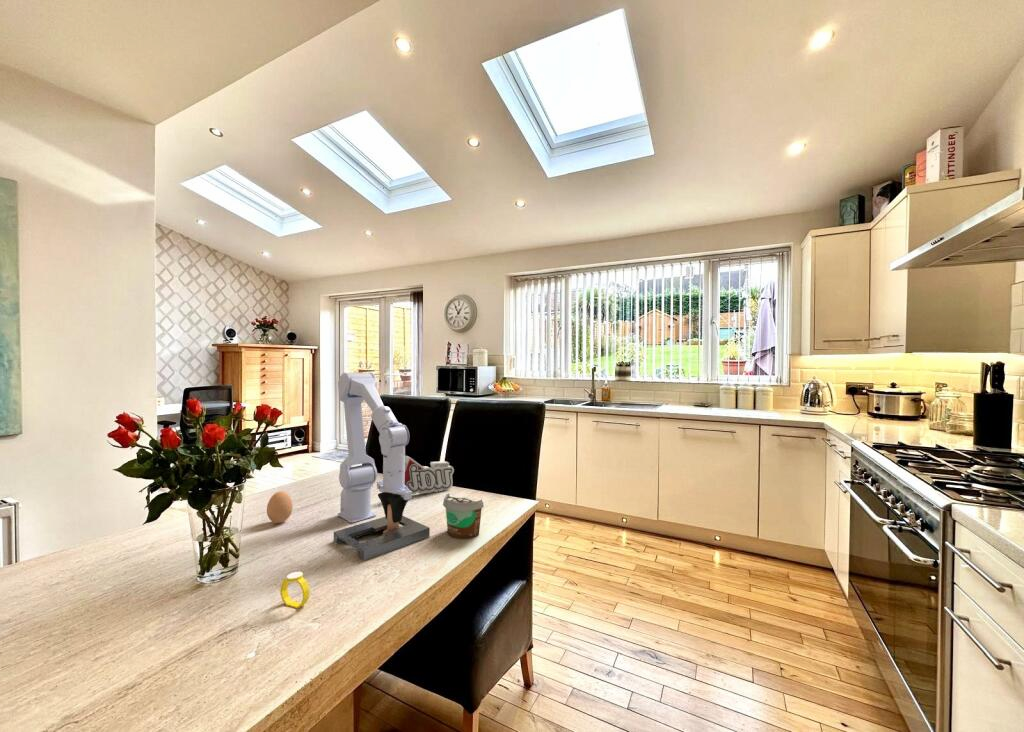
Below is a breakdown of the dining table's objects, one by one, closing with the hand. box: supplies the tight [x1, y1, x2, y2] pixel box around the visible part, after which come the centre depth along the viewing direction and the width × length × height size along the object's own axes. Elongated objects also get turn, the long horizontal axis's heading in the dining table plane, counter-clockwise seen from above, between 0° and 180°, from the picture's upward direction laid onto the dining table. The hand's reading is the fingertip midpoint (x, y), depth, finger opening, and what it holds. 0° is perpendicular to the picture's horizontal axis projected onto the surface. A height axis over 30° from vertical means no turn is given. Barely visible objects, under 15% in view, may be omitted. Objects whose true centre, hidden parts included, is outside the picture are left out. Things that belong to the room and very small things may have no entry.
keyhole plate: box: [333, 515, 431, 562], centre depth 110 cm, size 16×19×2 cm
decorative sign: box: [405, 455, 455, 496], centre depth 149 cm, size 23×3×15 cm, turn 130°
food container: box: [442, 492, 485, 540], centre depth 113 cm, size 12×6×10 cm, turn 62°
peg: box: [382, 504, 400, 534], centre depth 112 cm, size 5×5×8 cm
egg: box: [266, 490, 294, 524], centre depth 120 cm, size 7×7×9 cm
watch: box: [279, 571, 311, 609], centre depth 79 cm, size 6×3×6 cm, turn 71°
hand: (393, 519), depth 112 cm, fingers closed on peg, 3 cm apart
